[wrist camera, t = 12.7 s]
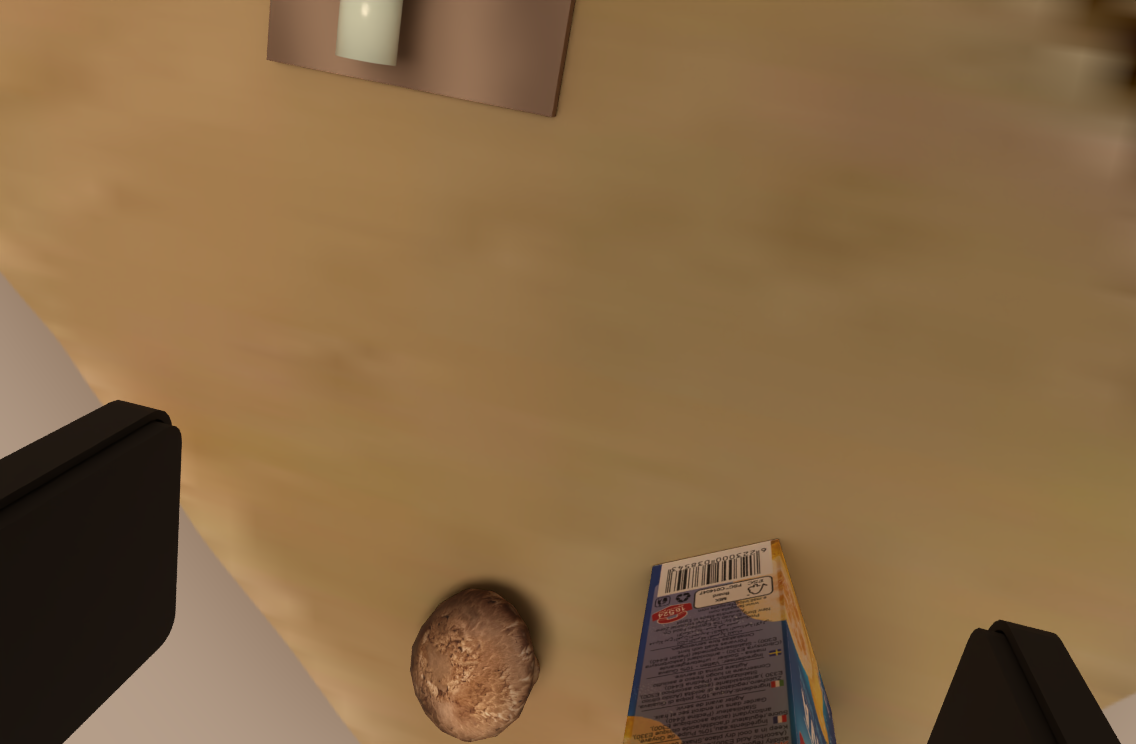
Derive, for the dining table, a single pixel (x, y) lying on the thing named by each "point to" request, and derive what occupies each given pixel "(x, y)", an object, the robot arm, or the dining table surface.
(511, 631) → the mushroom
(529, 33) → the walnut cradle
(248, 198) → the dining table surface
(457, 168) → the dining table surface
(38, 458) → the robot arm
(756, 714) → the beverage box
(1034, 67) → the dining table surface
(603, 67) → the dining table surface
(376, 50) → the sage bottle
